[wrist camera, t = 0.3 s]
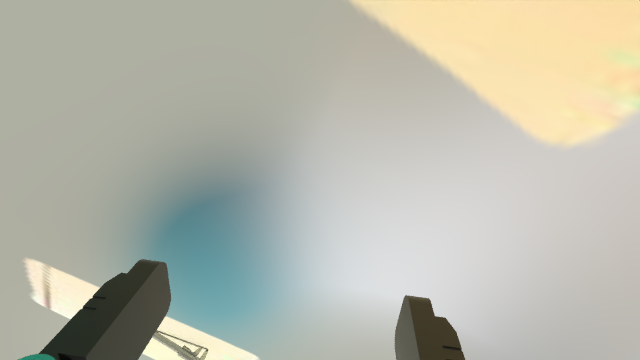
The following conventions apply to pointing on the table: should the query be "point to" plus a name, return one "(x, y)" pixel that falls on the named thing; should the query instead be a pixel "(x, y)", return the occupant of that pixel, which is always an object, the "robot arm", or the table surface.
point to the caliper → (180, 348)
